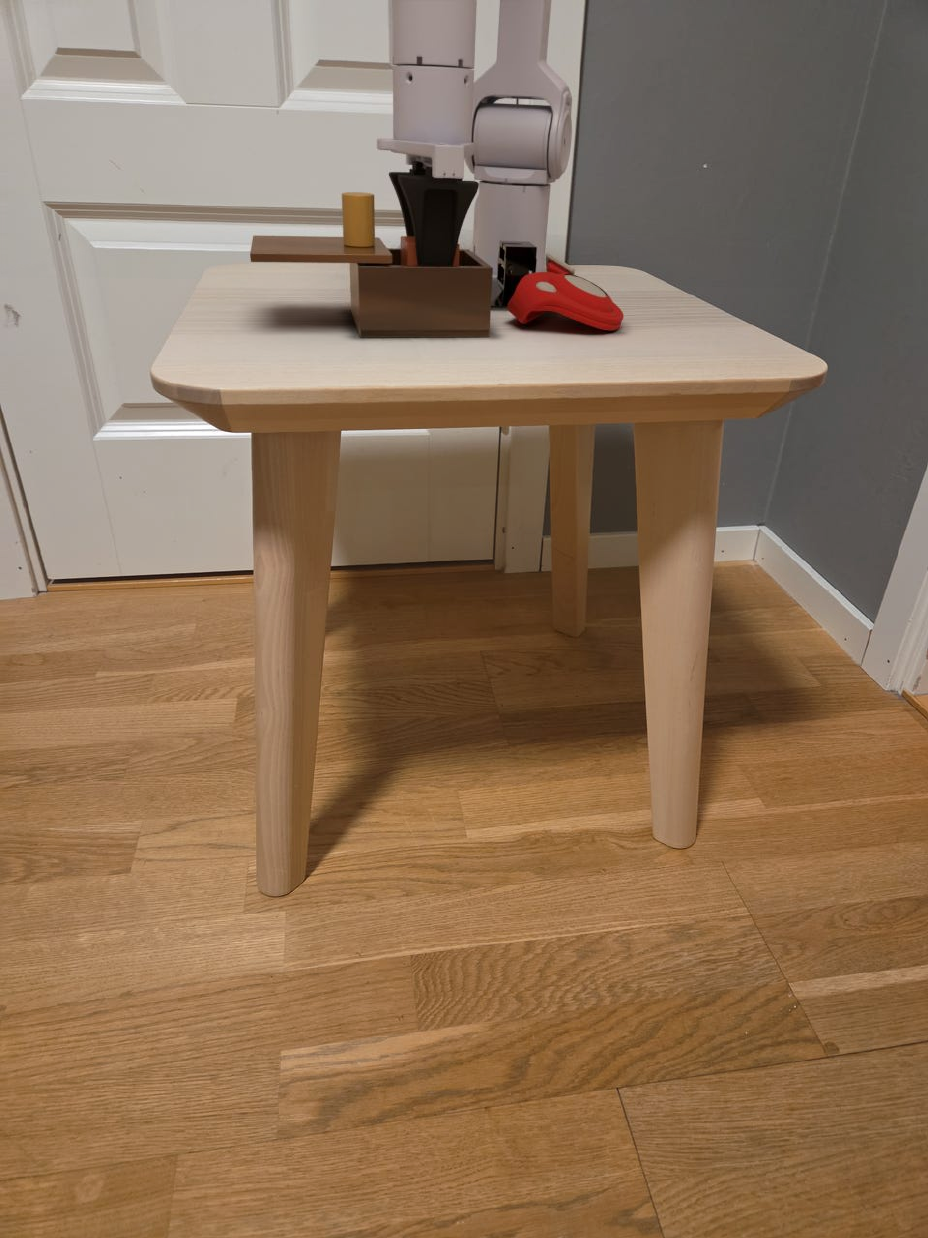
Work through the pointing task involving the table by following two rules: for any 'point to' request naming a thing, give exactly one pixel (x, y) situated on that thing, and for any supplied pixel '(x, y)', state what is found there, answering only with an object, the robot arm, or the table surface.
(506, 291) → the black rack
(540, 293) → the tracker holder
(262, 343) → the table surface
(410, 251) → the terracotta block
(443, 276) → the walnut box
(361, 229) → the slide lid
